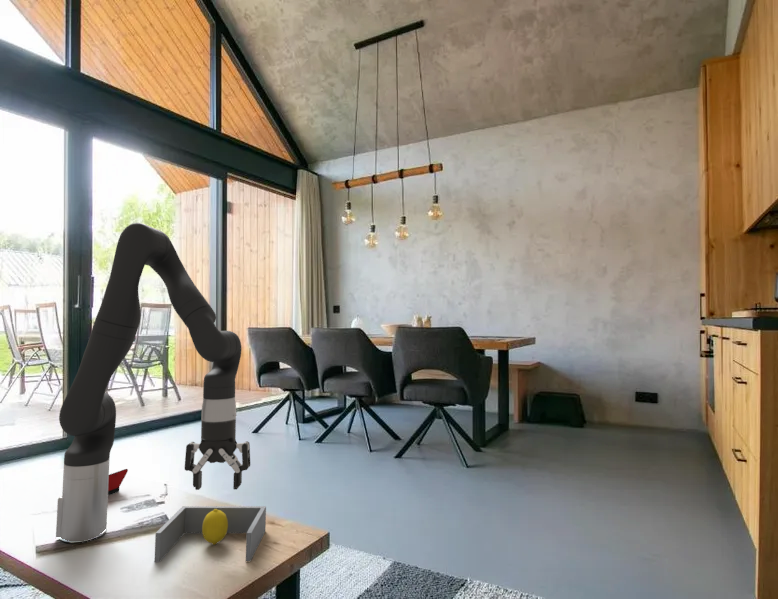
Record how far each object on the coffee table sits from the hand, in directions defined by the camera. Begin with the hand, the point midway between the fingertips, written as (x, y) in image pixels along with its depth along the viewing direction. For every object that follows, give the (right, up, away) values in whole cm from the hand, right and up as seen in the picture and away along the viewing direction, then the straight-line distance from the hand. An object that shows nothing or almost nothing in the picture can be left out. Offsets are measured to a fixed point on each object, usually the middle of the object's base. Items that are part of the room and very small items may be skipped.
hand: (217, 488), depth 111 cm
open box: (0, -13, -1) cm, 13 cm away
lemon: (0, -13, -1) cm, 13 cm away
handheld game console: (-44, -14, +27) cm, 54 cm away
